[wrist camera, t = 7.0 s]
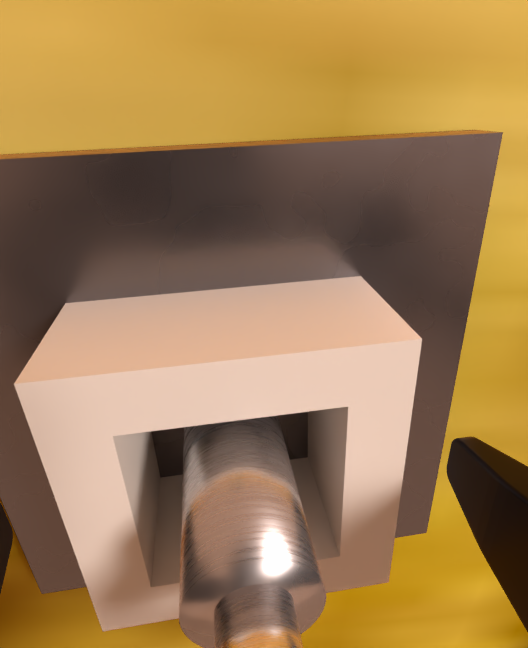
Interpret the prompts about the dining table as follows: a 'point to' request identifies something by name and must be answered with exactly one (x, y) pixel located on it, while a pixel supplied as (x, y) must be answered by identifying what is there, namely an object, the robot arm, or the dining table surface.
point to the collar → (215, 407)
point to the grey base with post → (230, 272)
